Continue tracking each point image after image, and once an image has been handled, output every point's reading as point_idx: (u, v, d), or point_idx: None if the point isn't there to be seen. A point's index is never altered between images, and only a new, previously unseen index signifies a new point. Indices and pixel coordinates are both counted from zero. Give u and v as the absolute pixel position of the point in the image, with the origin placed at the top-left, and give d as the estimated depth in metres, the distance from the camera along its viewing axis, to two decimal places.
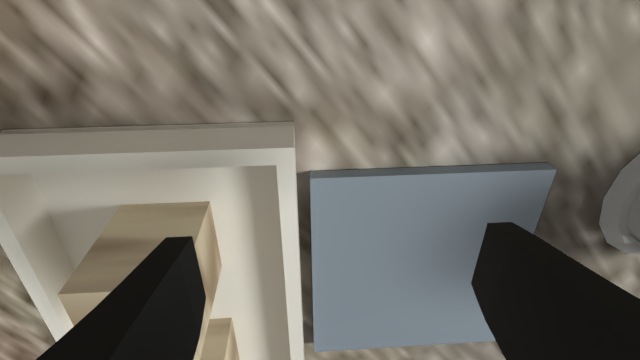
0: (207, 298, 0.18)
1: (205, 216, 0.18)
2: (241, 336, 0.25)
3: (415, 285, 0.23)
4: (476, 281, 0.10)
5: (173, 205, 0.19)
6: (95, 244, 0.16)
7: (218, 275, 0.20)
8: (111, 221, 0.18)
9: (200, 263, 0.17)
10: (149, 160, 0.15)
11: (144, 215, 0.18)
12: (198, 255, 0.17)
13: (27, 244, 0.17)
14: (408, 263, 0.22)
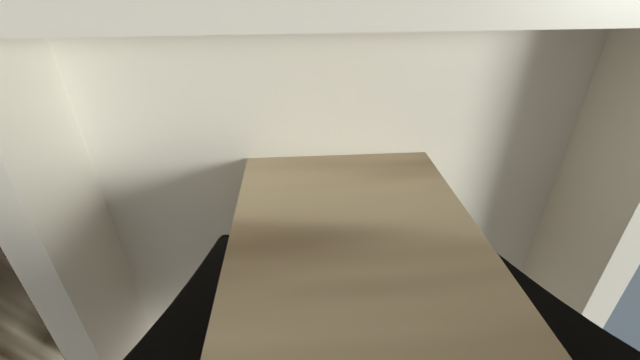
0: None
1: None
2: None
3: None
4: None
5: (355, 158, 0.09)
6: (234, 238, 0.06)
7: None
8: (244, 188, 0.08)
9: None
10: (413, 1, 0.05)
11: (308, 176, 0.08)
12: None
13: (57, 239, 0.08)
14: None
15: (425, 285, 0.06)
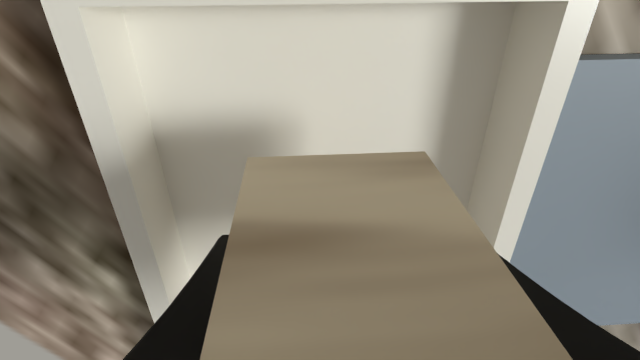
0: None
1: None
2: None
3: (631, 239, 0.17)
4: None
5: (355, 157, 0.09)
6: (234, 237, 0.06)
7: None
8: (244, 187, 0.08)
9: None
10: None
11: (308, 175, 0.08)
12: None
13: (129, 151, 0.11)
14: (636, 205, 0.16)
15: (424, 284, 0.06)
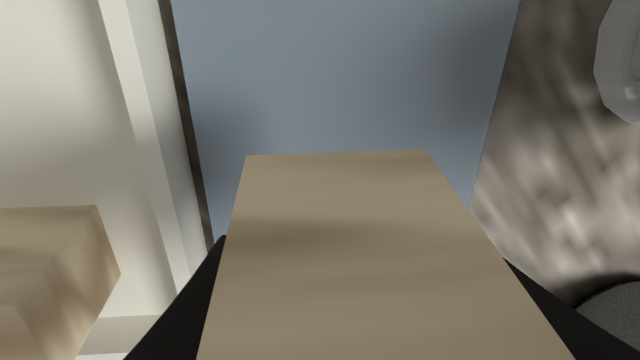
0: None
1: None
2: (115, 236, 0.19)
3: None
4: None
5: (354, 155, 0.09)
6: (232, 235, 0.06)
7: None
8: (243, 185, 0.08)
9: None
10: None
11: (308, 173, 0.08)
12: None
13: None
14: (329, 119, 0.16)
15: (423, 281, 0.05)
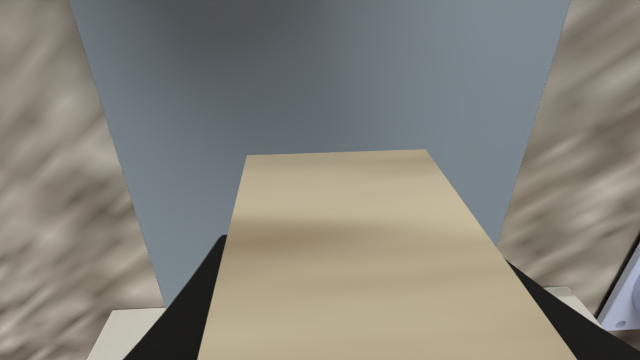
0: None
1: None
2: None
3: None
4: None
5: (355, 155, 0.09)
6: (233, 235, 0.06)
7: None
8: (243, 185, 0.08)
9: None
10: None
11: (308, 173, 0.08)
12: None
13: None
14: None
15: (425, 281, 0.05)
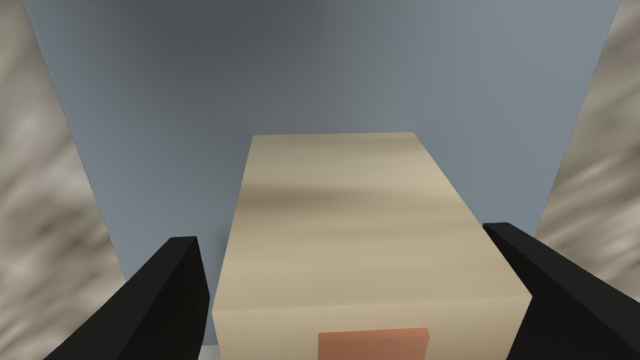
0: None
1: None
2: None
3: None
4: None
5: (350, 136, 0.10)
6: (243, 196, 0.07)
7: None
8: (251, 158, 0.09)
9: None
10: None
11: (308, 150, 0.09)
12: None
13: None
14: None
15: (406, 232, 0.07)
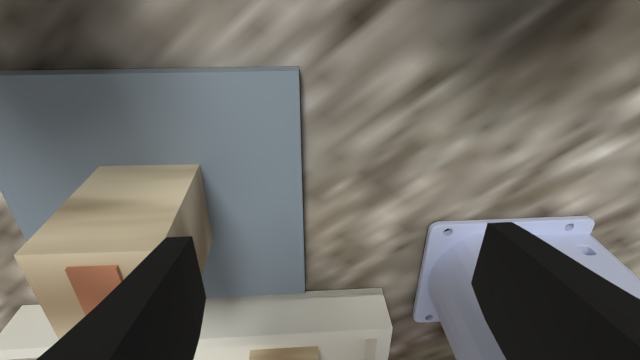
0: None
1: (193, 179, 0.16)
2: (278, 344, 0.24)
3: None
4: (476, 281, 0.10)
5: (157, 167, 0.17)
6: (65, 204, 0.14)
7: (208, 249, 0.18)
8: (86, 182, 0.16)
9: (186, 229, 0.15)
10: None
11: (124, 176, 0.16)
12: (184, 220, 0.15)
13: None
14: None
15: (132, 223, 0.13)
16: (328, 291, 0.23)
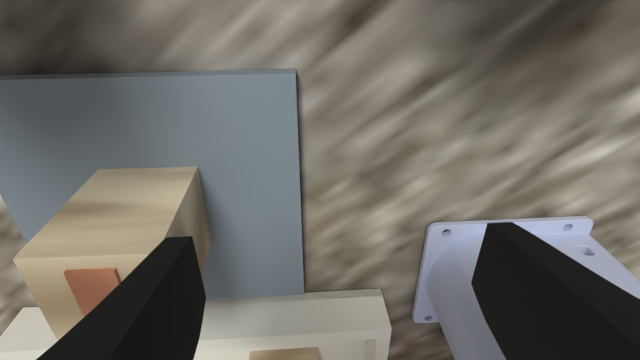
0: None
1: (192, 181, 0.16)
2: (278, 345, 0.24)
3: None
4: (476, 281, 0.10)
5: (156, 169, 0.17)
6: (64, 207, 0.14)
7: (207, 251, 0.18)
8: (85, 185, 0.16)
9: (185, 232, 0.15)
10: None
11: (122, 179, 0.16)
12: (182, 222, 0.15)
13: None
14: None
15: (131, 225, 0.13)
16: (327, 292, 0.23)
